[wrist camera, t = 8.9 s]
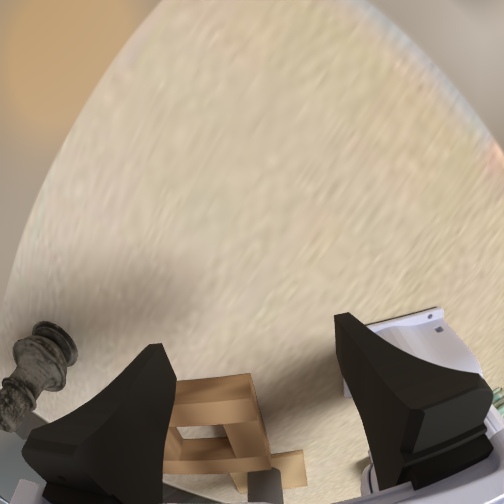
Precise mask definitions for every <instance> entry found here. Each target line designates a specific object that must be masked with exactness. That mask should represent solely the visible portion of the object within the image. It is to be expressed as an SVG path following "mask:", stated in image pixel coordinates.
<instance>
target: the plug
mask: <svg viewBox="0 0 504 504" xmlns="http://www.w3.org/2000/svg"><path fill="white" fill-rule="evenodd" d="M247 484H248V502H266V503H271V504H284V502H283V492H282V481H281V472H280V470H279V469H277V468H274V467H272V469H270V470H261V471H251V472H248V473H247Z"/></svg>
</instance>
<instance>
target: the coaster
mask: <svg viewBox="0 0 504 504" xmlns="http://www.w3.org/2000/svg"><path fill="white" fill-rule="evenodd" d="M271 467H274V468H277V469H279V470H280V472H281V481H282V490H283V489H290V488H297V487H303V486H308V485H307V477H306V469H305V462H304V454H303V450H299V451H293V452H287V453H280V454H272V455H271ZM247 473H248V472H239V473H230V475H231V477H232V479H233V481H234V483H235V485H236V487H237V488H238V490H239V492H240V494H241V493H248V484H247Z"/></svg>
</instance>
